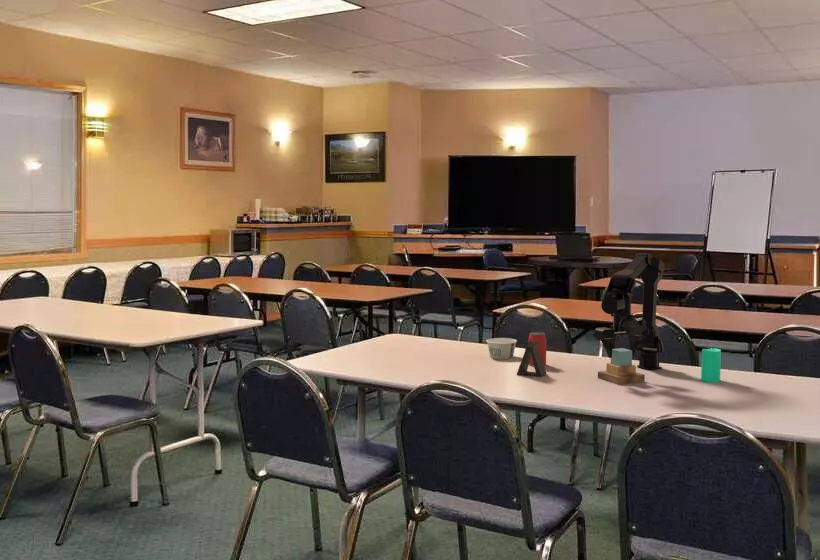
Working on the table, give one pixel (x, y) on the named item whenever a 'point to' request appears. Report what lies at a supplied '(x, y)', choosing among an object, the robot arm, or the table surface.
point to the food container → (501, 348)
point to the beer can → (539, 345)
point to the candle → (711, 365)
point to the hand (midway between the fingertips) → (621, 356)
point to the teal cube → (621, 357)
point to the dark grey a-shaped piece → (536, 359)
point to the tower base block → (621, 378)
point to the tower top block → (621, 369)
